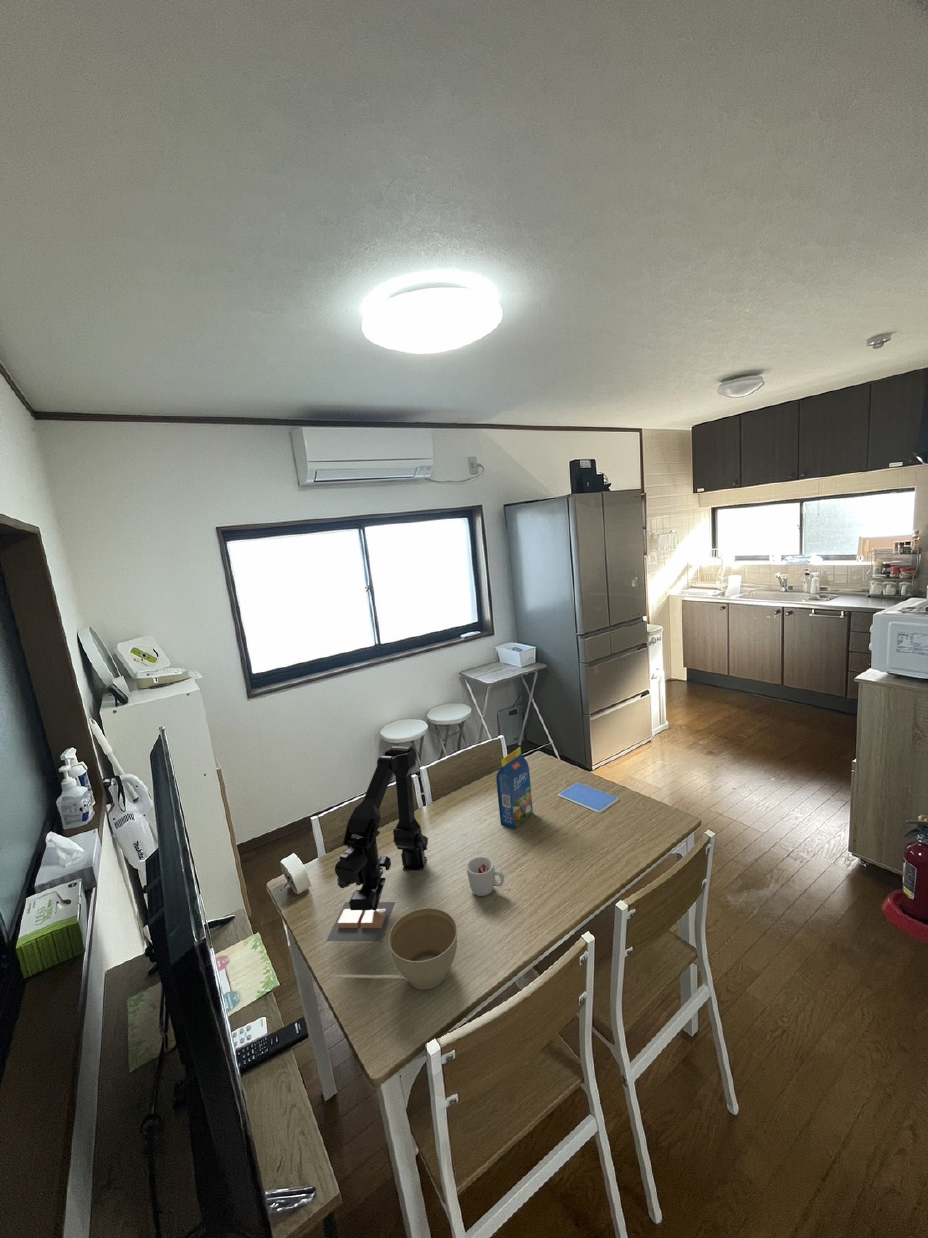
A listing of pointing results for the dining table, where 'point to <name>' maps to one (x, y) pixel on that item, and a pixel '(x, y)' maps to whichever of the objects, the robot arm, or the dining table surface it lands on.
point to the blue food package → (514, 790)
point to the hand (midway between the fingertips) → (375, 909)
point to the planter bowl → (424, 946)
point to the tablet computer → (589, 797)
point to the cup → (482, 875)
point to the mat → (359, 932)
